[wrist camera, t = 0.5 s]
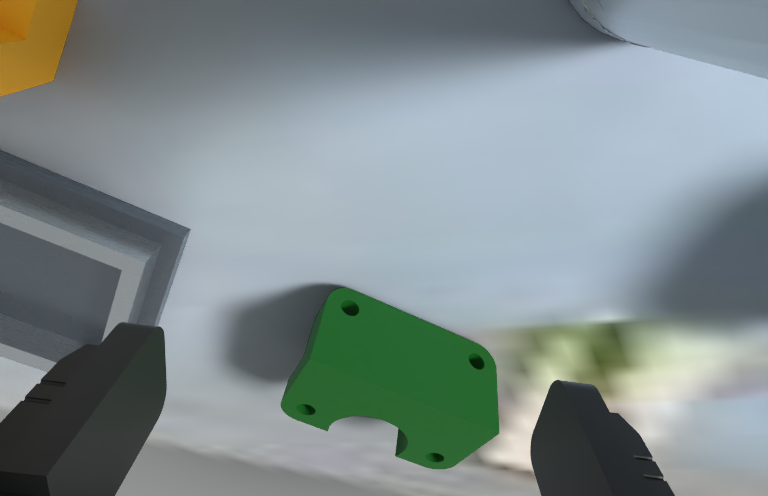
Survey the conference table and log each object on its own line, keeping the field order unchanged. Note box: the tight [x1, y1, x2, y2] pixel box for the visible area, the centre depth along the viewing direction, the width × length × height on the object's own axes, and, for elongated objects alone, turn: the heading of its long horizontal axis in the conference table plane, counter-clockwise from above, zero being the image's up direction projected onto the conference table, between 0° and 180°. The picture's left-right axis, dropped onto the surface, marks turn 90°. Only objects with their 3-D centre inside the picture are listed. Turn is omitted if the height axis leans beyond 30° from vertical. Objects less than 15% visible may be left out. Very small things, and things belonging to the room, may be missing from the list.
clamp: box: [281, 288, 499, 469], centre depth 30 cm, size 12×6×9 cm, turn 57°
